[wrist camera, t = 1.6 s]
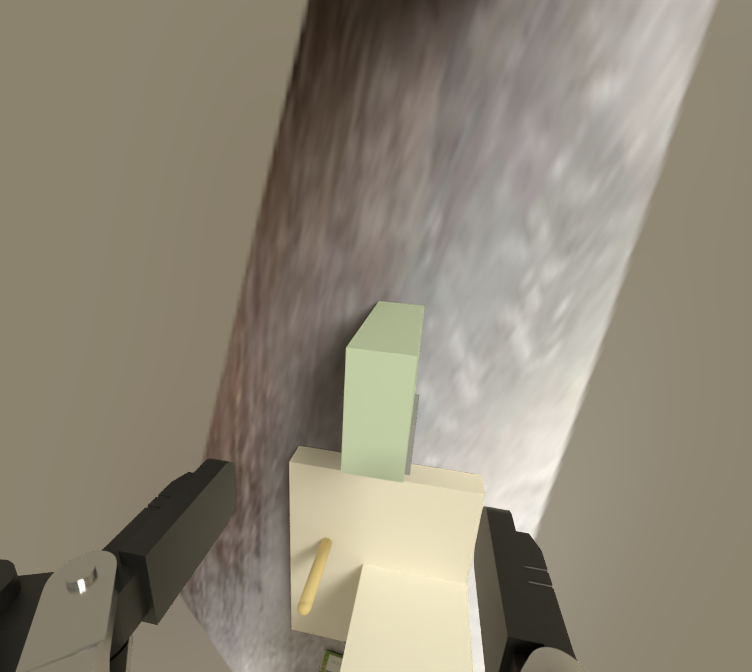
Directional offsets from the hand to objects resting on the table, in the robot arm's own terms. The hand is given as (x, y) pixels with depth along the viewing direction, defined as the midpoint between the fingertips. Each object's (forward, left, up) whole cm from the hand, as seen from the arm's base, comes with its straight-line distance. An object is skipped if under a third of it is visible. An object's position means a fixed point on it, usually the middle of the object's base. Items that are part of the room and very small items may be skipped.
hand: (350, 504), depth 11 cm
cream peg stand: (+18, 0, -14) cm, 23 cm away
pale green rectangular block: (+2, 0, -14) cm, 14 cm away
